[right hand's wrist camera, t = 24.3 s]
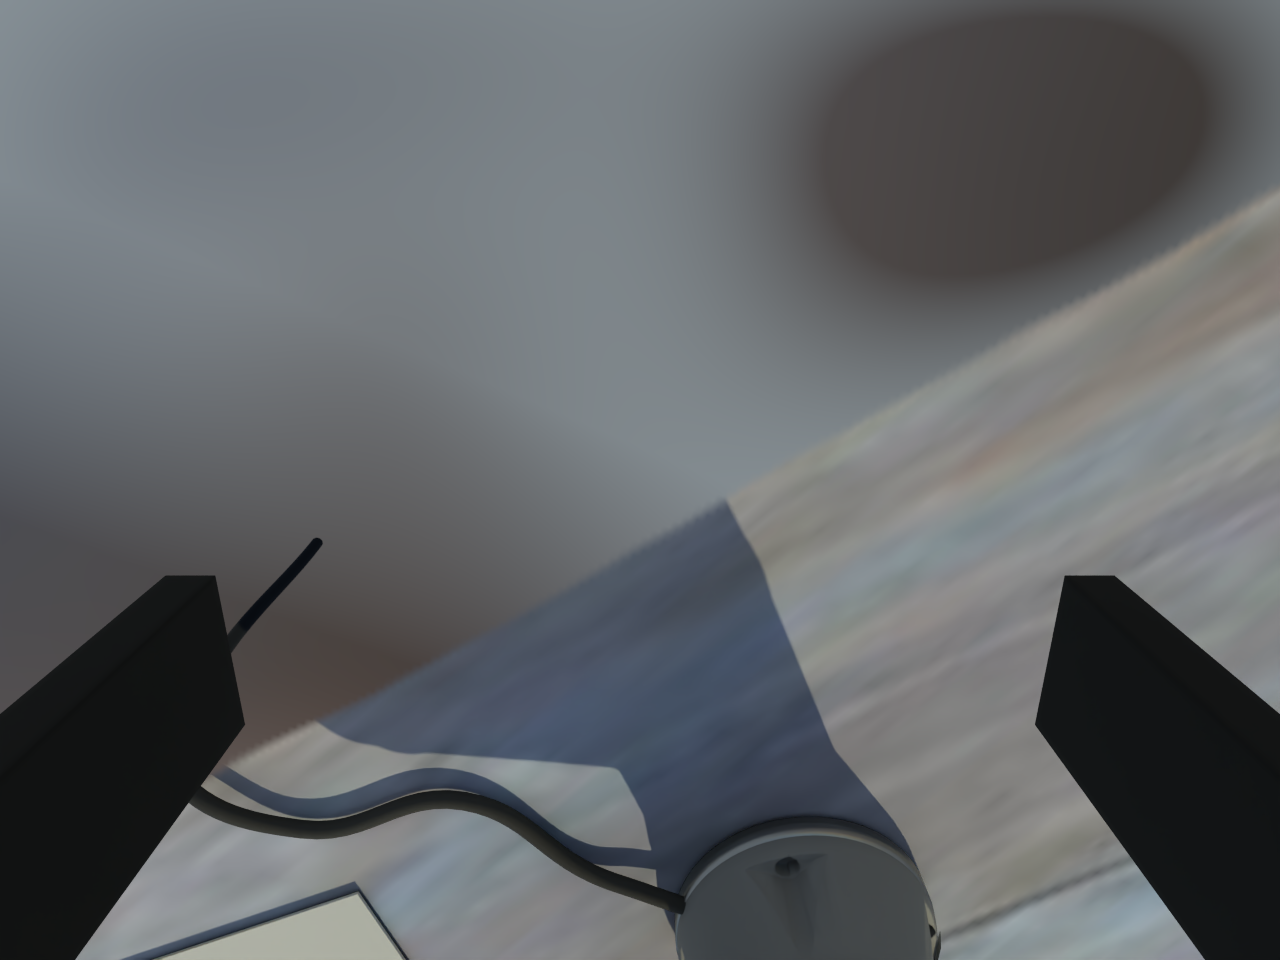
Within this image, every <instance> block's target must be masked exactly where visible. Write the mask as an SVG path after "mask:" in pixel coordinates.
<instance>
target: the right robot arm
mask: <svg viewBox="0 0 1280 960" xmlns="http://www.w3.org/2000/svg"><path fill="white" fill-rule="evenodd" d="M322 544H323V541H322V540H321V539H320V538H314V539H313V540H312V541H311V542H310V543H309V545H308V546H307V547H306V548H305V549H304V551H303V552H302V553H301V554H300V555H299V556H298V557H297V559H296V560H295V561H294V562H293V563H292V564H291V565H290V566H289V567H288V568H287V569H286V570H285V572H284V573H283V574H282V575H281V576H280V577H279V578H278V579H277V580H276V581H275V582H274V583H273V584H272V585H271V586H270V587H269V588H268V589H267V590H266V591H265V592H264V593H263V595H262V596H261V597H260V598H259V599H258V600H257V601H256V602H255V603H254V604H253V605H252V606H251V607H250V609H249V610H248V611H247V612H246V613H245V614H244V615H243V616H242V617H241V619H240V620H239V621H238V622H237V624H236V625H235V626H234V627H233V628H232V629H231V631H230V632H229V633H228V635H227V632H226V627H225V622H224V617H223V612H222V607H221V602H220V597H219V592H218V587H217V582H216V577H215V576H165V577H163V578H162V579H161V580H160V581H159V582H157V583H156V584H155V585H154V586H153V587H151V588H150V589H149V590H148V591H147V592H145V593H144V594H143V595H142V596H141V597H139V598H138V599H137V600H136V601H135V602H134V603H132V604H131V605H130V606H129V607H128V608H126V609H125V610H124V611H123V612H122V613H120V614H119V615H118V616H117V617H116V618H114V619H113V620H112V621H111V622H110V623H108V624H107V625H106V626H105V627H104V628H102V629H101V630H100V631H99V632H98V633H96V634H95V635H94V636H93V637H92V638H91V639H89V640H88V641H87V642H86V643H85V644H83V645H82V646H81V647H80V648H79V649H77V650H76V651H75V652H74V653H73V654H71V655H70V656H69V657H68V658H67V659H66V660H64V661H63V662H62V663H61V664H59V665H58V666H57V667H56V668H55V669H54V670H52V671H51V672H50V673H49V674H48V675H46V676H45V677H44V678H43V679H42V680H40V681H39V682H38V683H37V684H36V685H34V686H33V687H32V688H31V689H30V690H28V691H27V692H26V693H25V694H24V695H22V696H21V697H20V698H19V699H18V700H17V701H15V702H14V703H13V704H12V705H11V706H9V707H8V708H7V709H6V710H5V711H3V712H2V713H1V714H0V960H75V959H76V958H77V956H78V955H79V953H80V952H81V951H82V949H83V948H84V947H85V945H86V944H87V942H88V941H89V940H90V938H91V937H92V936H93V934H94V933H95V931H96V930H97V929H98V927H99V926H100V924H101V923H102V922H103V920H104V919H105V918H106V916H107V915H108V913H109V912H110V911H111V909H112V908H113V906H114V905H115V904H116V902H117V901H118V900H119V898H120V897H121V895H122V894H123V893H124V891H125V890H126V888H127V887H128V886H129V884H130V883H131V882H132V880H133V879H134V877H135V876H136V875H137V873H138V872H139V871H140V869H141V868H142V866H143V865H144V864H145V862H146V861H147V859H148V858H149V857H150V855H151V854H152V853H153V851H154V850H155V848H156V847H157V846H158V844H159V843H160V841H161V840H162V839H163V837H164V836H165V835H166V833H167V832H168V830H169V829H170V828H171V826H172V825H173V823H174V822H175V821H176V819H177V818H178V817H179V815H180V814H181V812H182V811H183V810H184V808H185V807H186V806H187V804H188V803H190V804H191V805H192V806H194V807H195V808H197V809H198V810H200V811H202V812H203V813H205V814H207V815H209V816H211V817H213V818H215V819H218V820H220V821H223V822H225V823H228V824H231V825H234V826H237V827H241V828H245V829H248V830H253V831H257V832H262V833H268V834H273V835H280V836H287V837H294V838H304V839H329V838H337V837H342V836H348V835H351V834H355V833H358V832H361V831H364V830H367V829H370V828H373V827H375V826H378V825H380V824H383V823H386V822H388V821H391V820H393V819H396V818H399V817H402V816H405V815H408V814H411V813H415V812H419V811H424V810H431V809H456V810H464V811H468V812H473V813H477V814H480V815H483V816H486V817H489V818H491V819H493V820H495V821H498V822H500V823H501V824H503V825H505V826H507V827H509V828H510V829H512V830H513V831H515V832H516V833H518V834H519V835H520V836H522V837H523V838H524V839H526V840H527V841H528V842H530V843H531V844H532V845H533V846H535V847H536V848H537V849H539V850H540V851H541V852H542V853H544V854H545V855H546V856H548V857H549V858H550V859H552V860H553V861H554V862H556V863H557V864H559V865H560V866H562V867H563V868H565V869H566V870H568V871H570V872H571V873H573V874H575V875H576V876H578V877H580V878H582V879H584V880H586V881H588V882H590V883H592V884H595V885H597V886H599V887H602V888H605V889H607V890H610V891H613V892H616V893H619V894H622V895H625V896H628V897H631V898H634V899H637V900H640V901H643V902H646V903H648V904H651V905H654V906H657V907H660V908H663V909H666V910H669V911H672V912H675V938H676V948H677V953H678V957H679V960H938V958H939V953H940V949H941V937H940V933H939V938H938V942H937V926H936V920H935V916H934V910H933V906H932V902H931V900H930V897H929V894H928V892H927V889H926V887H925V885H924V882H923V880H922V877H921V875H920V873H919V871H918V869H917V867H916V866H915V864H914V863H913V862H912V860H911V859H910V858H909V857H908V856H907V854H906V853H905V852H904V851H903V850H902V849H901V848H899V847H898V846H897V845H896V844H895V843H893V842H892V841H891V840H889V839H888V838H886V837H885V836H883V835H881V834H879V833H877V832H876V831H873V830H871V829H869V828H867V827H864V826H861V825H858V824H855V823H852V822H848V821H844V820H838V819H832V818H823V817H796V818H787V819H780V820H775V821H771V822H767V823H763V824H760V825H757V826H754V827H751V828H748V829H746V830H744V831H741V832H739V833H737V834H735V835H733V836H731V837H729V838H728V839H726V840H725V841H723V842H721V843H720V844H718V845H717V846H716V847H714V848H713V849H712V850H710V851H709V852H708V853H707V854H706V855H705V856H704V857H703V858H702V859H701V860H700V861H699V862H698V863H697V864H696V865H695V866H694V868H693V869H692V871H691V872H690V873H689V875H688V876H687V878H686V880H685V882H684V883H683V885H682V888H681V890H680V892H679V895H678V894H675V893H672V892H669V891H667V890H664V889H661V888H658V887H655V886H652V885H649V884H646V883H644V882H641V881H638V880H635V879H632V878H629V877H626V876H622V875H619V874H616V873H614V872H611V871H608V870H606V869H603V868H601V867H599V866H596V865H594V864H593V863H591V862H589V861H587V860H585V859H583V858H581V857H580V856H578V855H576V854H575V853H573V852H572V851H570V850H569V849H567V848H566V847H564V846H563V845H562V844H560V843H559V842H558V841H557V840H555V839H554V838H553V837H551V836H550V835H549V834H548V833H546V832H545V831H544V830H543V829H541V828H540V827H539V826H538V825H536V824H535V823H534V822H532V821H531V820H530V819H528V818H527V817H525V816H524V815H522V814H521V813H519V812H518V811H516V810H514V809H512V808H511V807H509V806H507V805H505V804H503V803H501V802H498V801H496V800H493V799H490V798H487V797H484V796H481V795H477V794H472V793H468V792H461V791H451V790H442V791H428V792H422V793H417V794H413V795H409V796H405V797H402V798H399V799H397V800H394V801H391V802H388V803H386V804H383V805H381V806H378V807H376V808H373V809H370V810H368V811H365V812H362V813H359V814H357V815H353V816H350V817H346V818H341V819H336V820H327V821H310V820H299V819H292V818H285V817H279V816H273V815H268V814H263V813H259V812H255V811H251V810H248V809H244V808H241V807H238V806H236V805H233V804H231V803H228V802H226V801H224V800H222V799H220V798H218V797H216V796H214V795H213V794H211V793H210V792H208V791H207V790H205V789H204V788H203V787H201V785H202V783H203V782H204V781H205V779H206V778H207V776H208V775H209V774H210V772H211V771H212V770H213V768H214V767H215V765H216V764H217V763H218V761H219V760H220V758H221V757H222V756H223V754H224V753H225V752H226V750H227V749H228V747H229V746H230V745H231V743H232V742H233V740H234V739H235V738H236V736H237V735H238V734H239V732H240V731H241V729H242V728H243V727H244V725H245V722H244V717H243V712H242V707H241V702H240V697H239V692H238V687H237V682H236V677H235V672H234V667H233V662H232V657H231V653H232V652H233V650H234V649H235V647H236V646H237V645H238V643H239V642H240V641H241V639H242V638H243V637H244V635H245V634H246V633H247V632H248V630H249V629H250V628H251V627H252V626H253V624H254V623H255V622H256V621H257V620H258V618H259V617H260V616H261V615H262V614H263V613H264V612H265V610H266V609H267V608H268V607H269V606H270V605H271V604H272V603H273V602H274V600H275V599H276V598H277V597H278V596H279V595H280V594H281V593H282V592H283V591H284V590H285V588H286V587H287V586H288V585H289V584H290V583H291V582H292V581H293V580H294V579H295V577H296V576H297V575H298V574H299V573H300V572H301V571H302V570H303V568H304V567H305V566H306V565H307V564H308V562H309V561H310V560H311V559H312V558H313V556H314V555H315V554H316V553H317V551H318V550H319V549H320V547H321V546H322ZM1035 725H1036V727H1037V728H1038V729H1039V731H1040V732H1041V734H1042V735H1043V736H1044V738H1045V739H1046V740H1047V742H1048V743H1049V745H1050V746H1051V747H1052V749H1053V750H1054V752H1055V753H1056V754H1057V756H1058V757H1059V758H1060V760H1061V761H1062V763H1063V764H1064V765H1065V767H1066V768H1067V770H1068V771H1069V772H1070V774H1071V775H1072V776H1073V778H1074V779H1075V781H1076V782H1077V783H1078V785H1079V786H1080V788H1081V789H1082V790H1083V792H1084V793H1085V794H1086V796H1087V797H1088V799H1089V800H1090V801H1091V803H1092V804H1093V806H1094V807H1095V808H1096V810H1097V811H1098V812H1099V814H1100V815H1101V817H1102V818H1103V819H1104V821H1105V822H1106V823H1107V825H1108V826H1109V828H1110V829H1111V830H1112V832H1113V833H1114V835H1115V836H1116V837H1117V839H1118V840H1119V841H1120V843H1121V844H1122V846H1123V847H1124V848H1125V850H1126V851H1127V853H1128V854H1129V855H1130V857H1131V858H1132V859H1133V861H1134V862H1135V864H1136V865H1137V866H1138V868H1139V869H1140V871H1141V872H1142V873H1143V875H1144V876H1145V877H1146V879H1147V880H1148V882H1149V883H1150V884H1151V886H1152V887H1153V888H1154V890H1155V891H1156V893H1157V894H1158V895H1159V897H1160V898H1161V900H1162V901H1163V902H1164V904H1165V905H1166V906H1167V908H1168V909H1169V911H1170V912H1171V913H1172V915H1173V916H1174V918H1175V919H1176V920H1177V922H1178V923H1179V924H1180V926H1181V927H1182V929H1183V930H1184V931H1185V933H1186V934H1187V936H1188V937H1189V938H1190V940H1191V941H1192V942H1193V944H1194V945H1195V947H1196V948H1197V949H1198V951H1199V952H1200V953H1201V955H1202V956H1203V958H1204V959H1205V960H1280V714H1279V713H1278V712H1277V711H1275V710H1274V709H1273V708H1272V707H1271V706H1269V705H1268V704H1267V703H1266V702H1265V701H1263V700H1262V699H1261V698H1260V697H1259V696H1258V695H1256V694H1255V693H1254V692H1253V691H1252V690H1250V689H1249V688H1248V687H1247V686H1246V685H1244V684H1243V683H1242V682H1241V681H1240V680H1238V679H1237V678H1236V677H1235V676H1234V675H1232V674H1231V673H1230V672H1229V671H1228V670H1226V669H1225V668H1224V667H1223V666H1222V665H1221V664H1219V663H1218V662H1217V661H1216V660H1215V659H1213V658H1212V657H1211V656H1210V655H1209V654H1207V653H1206V652H1205V651H1204V650H1203V649H1201V648H1200V647H1199V646H1198V645H1197V644H1195V643H1194V642H1193V641H1192V640H1191V639H1189V638H1188V637H1187V636H1186V635H1185V634H1184V633H1182V632H1181V631H1180V630H1179V629H1178V628H1176V627H1175V626H1174V625H1173V624H1172V623H1170V622H1169V621H1168V620H1167V619H1166V618H1164V617H1163V616H1162V615H1161V614H1160V613H1158V612H1157V611H1156V610H1155V609H1154V608H1152V607H1151V606H1150V605H1149V604H1148V603H1146V602H1145V601H1144V600H1143V599H1142V598H1141V597H1139V596H1138V595H1137V594H1136V593H1135V592H1133V591H1132V590H1131V589H1130V588H1129V587H1127V586H1126V585H1125V584H1124V583H1123V582H1121V581H1120V580H1119V579H1118V578H1117V577H1115V576H1065V577H1064V582H1063V587H1062V592H1061V597H1060V602H1059V607H1058V612H1057V617H1056V622H1055V627H1054V632H1053V637H1052V642H1051V647H1050V652H1049V657H1048V662H1047V667H1046V672H1045V677H1044V682H1043V687H1042V692H1041V697H1040V702H1039V707H1038V712H1037V717H1036V722H1035Z"/></svg>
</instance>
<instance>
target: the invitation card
mask: <svg viewBox="0 0 1280 960" xmlns="http://www.w3.org/2000/svg"><path fill="white" fill-rule="evenodd" d="M153 960H406V959H405V958H404V956H403V955H402V954H401V952H400V951H399V949H398V948H397V946H396V945H395V943H394V942H393V941H392V939H391V938H390V936H389V935H388V933H387V932H386V930H385V929H384V928H383V926H382V925H381V923H380V922H379V920H378V919H377V918H376V916H375V915H374V913H373V912H372V910H371V909H370V907H369V906H368V905H367V903H366V902H365V900H364V899H363V897H362V896H361V894H360V893H359V892H355V893H352V894H349V895H346V896H343V897H340V898H337V899H334V900H331V901H328V902H325V903H322V904H319V905H316V906H313V907H310V908H307V909H304V910H301V911H298V912H295V913H292V914H289V915H286V916H283V917H280V918H277V919H274V920H271V921H268V922H265V923H262V924H259V925H256V926H253V927H250V928H247V929H244V930H241V931H238V932H235V933H232V934H228V935H225V936H222V937H219V938H216V939H213V940H210V941H207V942H204V943H201V944H198V945H195V946H192V947H189V948H186V949H183V950H180V951H177V952H174V953H171V954H168V955H165V956H162V957H159V958H156V959H153Z"/></svg>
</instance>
